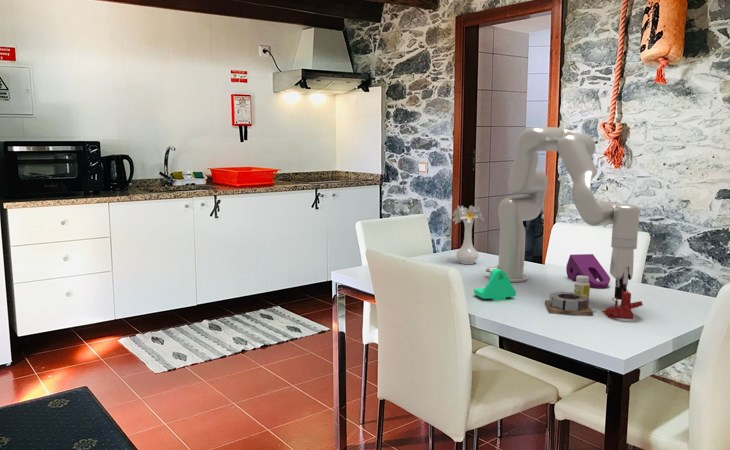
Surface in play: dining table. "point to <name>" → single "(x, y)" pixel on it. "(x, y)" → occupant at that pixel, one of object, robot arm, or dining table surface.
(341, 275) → the dining table surface
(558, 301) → the hub
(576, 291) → the supplement bottle
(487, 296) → the camera mount
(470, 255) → the flower vase
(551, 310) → the block
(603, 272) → the mounting bracket
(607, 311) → the red toothed piece
